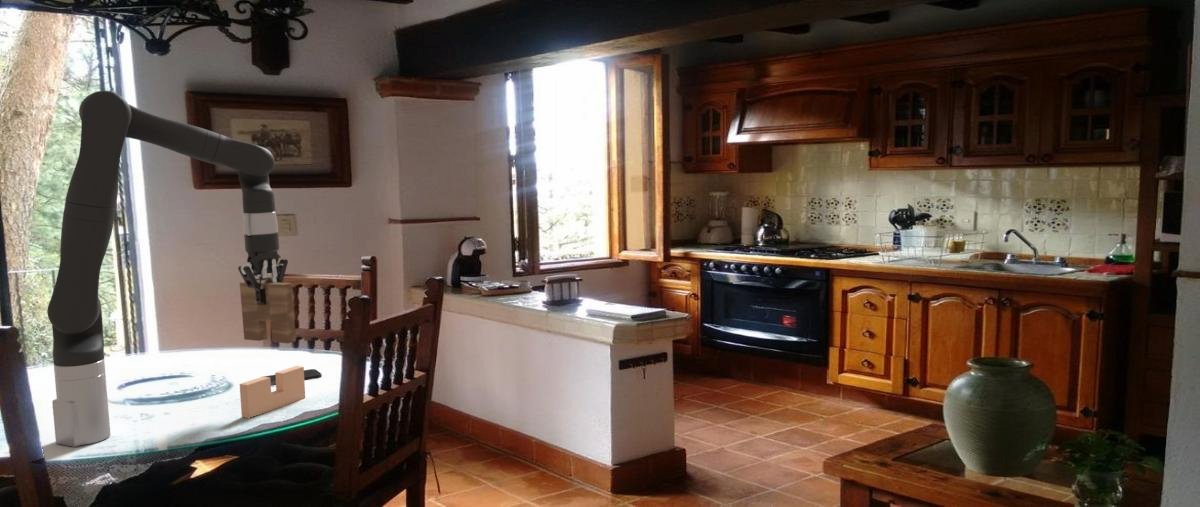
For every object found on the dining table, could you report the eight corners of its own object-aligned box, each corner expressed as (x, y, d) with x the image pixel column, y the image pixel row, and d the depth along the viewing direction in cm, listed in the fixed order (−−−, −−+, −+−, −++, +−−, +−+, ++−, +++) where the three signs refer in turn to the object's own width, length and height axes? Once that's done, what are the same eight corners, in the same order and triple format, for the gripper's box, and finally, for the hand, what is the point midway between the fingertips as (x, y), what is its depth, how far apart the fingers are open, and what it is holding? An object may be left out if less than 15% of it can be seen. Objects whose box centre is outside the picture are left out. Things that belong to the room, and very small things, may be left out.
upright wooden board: (288, 343, 194) (283, 284, 192) (244, 339, 200) (239, 282, 198) (295, 341, 196) (291, 283, 195) (252, 337, 202) (247, 280, 200)
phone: (322, 374, 228) (265, 383, 219) (322, 378, 228) (265, 387, 219) (314, 368, 234) (258, 376, 226) (314, 372, 234) (258, 380, 226)
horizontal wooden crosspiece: (249, 418, 192) (247, 385, 191) (241, 417, 193) (239, 384, 192) (305, 397, 208) (303, 366, 207) (297, 396, 209) (296, 365, 208)
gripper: (271, 228, 203) (276, 297, 205) (225, 234, 190) (231, 308, 192) (295, 228, 200) (300, 299, 202) (249, 234, 187) (255, 309, 189)
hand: (266, 303), depth 197 cm, fingers closed on upright wooden board, 2 cm apart
